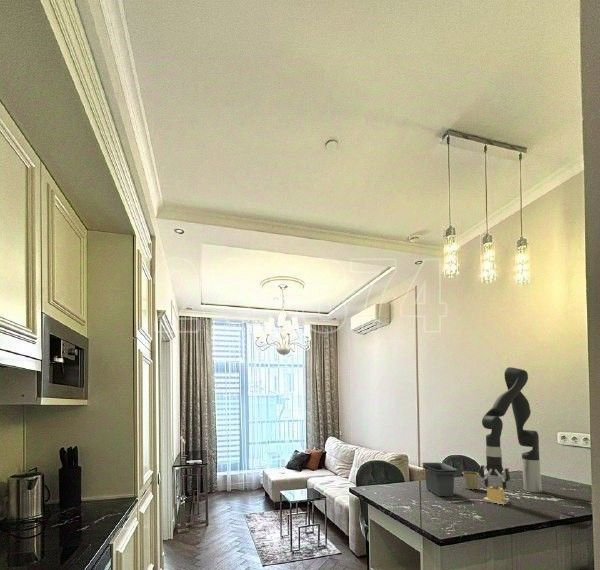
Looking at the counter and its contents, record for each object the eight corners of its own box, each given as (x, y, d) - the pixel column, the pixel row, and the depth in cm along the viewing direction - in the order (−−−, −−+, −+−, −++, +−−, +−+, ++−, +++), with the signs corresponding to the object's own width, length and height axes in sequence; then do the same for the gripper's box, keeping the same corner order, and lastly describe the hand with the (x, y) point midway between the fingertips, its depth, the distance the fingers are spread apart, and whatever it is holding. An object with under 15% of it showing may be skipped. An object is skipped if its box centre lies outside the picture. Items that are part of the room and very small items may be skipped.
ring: (491, 496, 253) (490, 486, 254) (504, 498, 249) (504, 488, 250) (487, 498, 248) (486, 488, 249) (500, 500, 244) (500, 490, 245)
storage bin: (460, 497, 255) (459, 469, 258) (433, 498, 253) (432, 469, 255) (442, 488, 276) (441, 462, 278) (417, 489, 273) (416, 462, 276)
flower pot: (463, 489, 274) (462, 473, 275) (462, 486, 282) (462, 470, 284) (480, 491, 271) (479, 475, 272) (479, 487, 280) (478, 472, 281)
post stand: (489, 498, 255) (488, 482, 257) (509, 501, 249) (508, 485, 251) (483, 501, 247) (482, 485, 249) (503, 505, 241) (502, 488, 243)
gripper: (510, 455, 251) (512, 489, 248) (482, 452, 260) (483, 484, 257) (505, 457, 245) (507, 491, 242) (477, 454, 254) (479, 487, 251)
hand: (495, 487), depth 250 cm, fingers open, 8 cm apart
